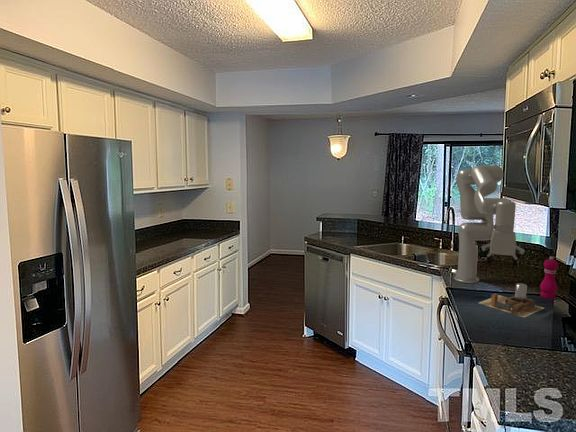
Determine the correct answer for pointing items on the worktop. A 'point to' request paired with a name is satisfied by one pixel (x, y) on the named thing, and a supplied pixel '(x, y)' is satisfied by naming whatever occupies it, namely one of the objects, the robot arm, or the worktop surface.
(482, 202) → the robot arm
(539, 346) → the worktop surface
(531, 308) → the dock
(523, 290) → the peg
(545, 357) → the worktop surface
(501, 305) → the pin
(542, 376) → the worktop surface
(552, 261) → the pepper mill
